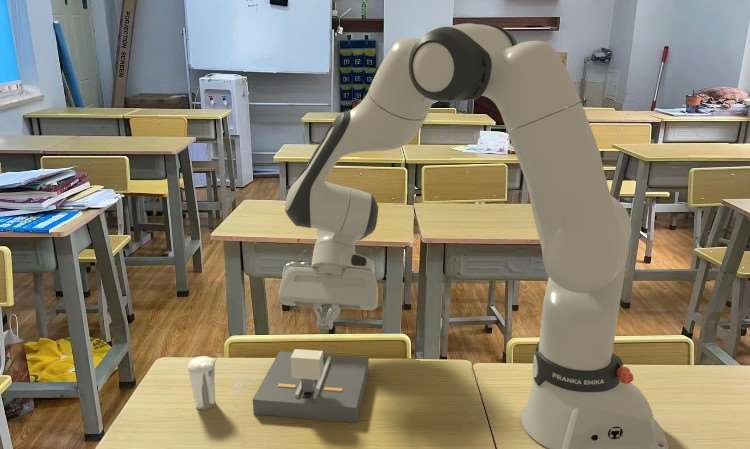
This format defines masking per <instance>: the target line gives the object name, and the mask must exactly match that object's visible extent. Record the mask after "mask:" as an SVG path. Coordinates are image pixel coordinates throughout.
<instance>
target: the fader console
mask: <svg viewBox="0 0 750 449" xmlns="http://www.w3.org/2000/svg"><path fill="white" fill-rule="evenodd" d="M293 352H294V351H293ZM293 352H292V351H278V353H277V355H276V357H275V358H274V360H273V362H272V363H271V366H270V367H269V369H268V371H267V373H266V374H265V376H264V378H263V380H262V382H261V384H260V385H259V387H258V389H257V391H256V393H255V394H254V396H253V398H252V409H253V410H252V411H253V415H257V416H258V415H259V416H270V417H271V416H272V417H280V418H281V417H284V418H295V419H307V420H320V421H321V420H322V421H330V422H331V421H332V422H343V423H355V424H356V423H357V420H358V417H359V412H360V407H361V405H362V400H363V396H364V393H365V388H366V384H367V379H368V376H369V370H370V369H369V368H370V367H369V366H370V364H369V363H370V362H369V357H368V356H367V357H365V356H351V355H341V354H340V355H337V354H335V355H334V354H324V353H323V368H324V371H323V374H322V376H321V379H320V380H315V388H314V391H313V392H302V388H301V379H299V378H292V376H291V356H292V354H293Z"/></svg>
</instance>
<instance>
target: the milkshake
mask: <svg viewBox="0 0 750 449" xmlns="http://www.w3.org/2000/svg"><path fill="white" fill-rule="evenodd" d="M217 359H218V356H216V358H215V360H214V359H213V358H212V357H210V356H197V357H196V356H195V357H194V358H193V359H191V360H190V361H189V363H188V364H187V371H188V375H189V379H190V385H191V389H192V394H193V399H194V404H195V408H196V409H198V410H202V411H206V410H209V409H210V410H211V409H212V407H214V406H215V403H216V390H215V389H216V382H215V378H216V377H215V375H216V374H215V373H216V361H217Z"/></svg>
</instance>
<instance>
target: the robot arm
mask: <svg viewBox="0 0 750 449" xmlns="http://www.w3.org/2000/svg"><path fill="white" fill-rule="evenodd" d="M579 95H580V94H579V93H578V90H577V88H576V85H575V84H574V81H573V79H572V77H571V76H570V73H569V71H568V69H567V68H566V65H565V64H564V62H563V61H562V59H561V57H560V56H559V54H558V52H557V51H556V49H555V48H554V47H553V46H552V45H551V44H549V43H548V42H545V41H542V40H527V41H524V42H523V41H522V42H520V43H519V42H517V40H516V38H515V37H514V35H513V33H511V32H510V31H508V30H507V29H505V28H503V27H502V26H499V25H496V24H492V23H483V24H477V23H472V22H471V23H469V22H468V23H459V24H454V25H449V26H441V27H440V26H439V27H438V28H435V29H432V30H430V31H428V32H427V33H426V34H424V35H423V36H421V37H420V38H415V37H406V38H405V37H404V38H401V39H399V40H398V41H396V42H395V43H394V44H392V46H391V48H390V49H389V51H388V52H387V53H386V56H385V57H384V58H383V60H382V62H381V63H380V65H379V68H378V69H377V71H376V73H375V75H374V77H373V79H372V81H371V84H370V86H369V89H368V90H367V93H366V95H365V97H364V98H363V99H362V100H361V101H360V103H358V104H357V105H356V106H355V107H353V108H352V109H351V110H347V111H341V113H339V115H337V117H336V118H335V119H334V121H333V122H332V123H331V124H330V126H329V127H328V129H327V131H326V132H325V133H324V136H323V137H322V139H321V141H320V142H319V144H317V147H316V148H315V150H314V151H313V153H312V156H311V157H310V158H309V160H308V162H307V163H306V165H305V167H304V168H303V170H302V171H301V173H300V174H299V176H297V177H296V179H295V181H294V182H293V184H292V185H291V187H290V188H289V189H288V191H287V193H286V194H287V195H286V196H285V204H284V206H285V207H284V211H285V212H284V213H286V216H287V217H288V218H289V220H290V222H292V223H293V224H294V225H295V226H296V227H299V228H300V227H301V228H308V229H316V233H317V234H316V235H317V237H316V238H317V239H316V242H315V243H314V247H313V253H312V259H311V262H309V261H302V262H300V261H291V262H290V263H287V264H286V265H285V266H284V267H283V268H282V274H281V283H280V284H279V285H280V286H279V289H278V295H277V297H278V300H279V301H280V303H282V305H284V306H291V307H292V306H293V307H294V306H295V307H308V308H312V309H313V311H314V314H315V316H316V328H317V329H321V330H322V329H325V330H326V329H327V330H332V329H333V324H334V321H335V320H336V318H338V316H339V315H340V313H341V310H357V311H358V310H359V311H374V310H376V309H377V308H378V305H379V291H378V290H379V288H378V283H377V278H376V275H375V273H376V272H375V271H376V270H375V269H376V268H375V264H374V261H373V260H372V258H371V257H367V256H364V255H361V254H359V253H357V252H356V246H355V245H356V242H357V241H359V242H360V241H362V240H363V239H365V238H367V237H368V236H370V235H371V234H373V233H374V231H375V230H376V227H377V222H378V216H379V205H378V202H377V201H376V198H375V197H374V195H373V194H372V193H370V192H367V191H365V190H360V189H357V188H354V187H349V186H343V185H341V184H336V183H333V182H330V181H326V180H327V178H328V177H329V175H330V174H331V172H332V171H333V169H334V167H335V166H336V164H337V163H338V161H339V160H340V159H342V158H343V157H344V156H347V155H350V154H354V153H363V152H386V151H392V150H396V149H400V148H402V147H404V146H406V145H408V144H409V143H411V142H412V141H413V139H415V137H416V136H417V135H418V133H419V131H420V130H421V128H422V126H423V124H424V123H425V120H426V118H427V116H428V114H429V112H430V110H431V107H432V105H433V103H434V101H435V102H440V103H456V102H462V101H463V102H464V101H474V100H475V101H476V100H479V99H480V98H481V97H482V96H483V97H485V98H488V99H489V100H491V101H492V102H493V103H494V104H495V106H496V108H497V109H498V111H499V113H500V115H501V118H502V121H503V123H504V126H505V129H506V131H507V134H508V138H509V140H510V143H511V144H512V147H513V151H514V153H515V155H516V157H517V158H516V159H517V160H518V164H519V167H520V169H521V172H522V175H523V177H524V179H525V183H526V188H527V192H528V196H529V201H530V206H531V210H532V216H533V220H534V223H535V228H536V231H537V236H538V239H539V242H540V247H541V252H542V253H541V254H542V261H543V266H544V269H545V271H546V273H547V276H548V278H547V284H546V288H545V293H544V297H543V303H542V312H541V313H542V314H541V320H540V321H541V322H540V330H539V331H540V332H539V339H538V342H537V343H536V345H535V351H534V355H533V363H532V376H533V377H532V378H533V380H532V384H531V385H532V386H531V389H530V392H529V396H528V399H527V401H526V404H525V406H524V408H523V409H522V412H521V415H520V420H521V425H522V427H523V429H524V430H525V432H526V433H527V434H528V435H529V436H530V438H532V439H533V440H534V441H535V442H537V443H538V444H540V445H542V446H544V447H545V448H547V449H669V444H668V440H667V437H666V435H665V433H664V431H663V429H662V427H661V426H660V424H659V422H658V421H657V420H656V419H655V418H654V413H653V410H652V407H651V405H650V403H649V401H648V399H647V398H646V396H645V395H644V394H643V392H642V391H641V390H640V388H639V387H637V386H636V385H635V384H634V383H632V382H633V381H634V379H635V378H634V375H633V373H632V371H631V370H630V368H628V367H627V366H624V362H623V360H622V358H621V357H620V356H618V355H617V353H616V352H615V350H614V343H615V339H616V331H617V325H618V317H619V310H620V305H621V298H622V293H623V286H624V279H625V274H626V267H627V261H628V253H629V247H630V242H631V235H632V220H631V217H630V215H629V214H630V213H628V210H627V209H626V208H625V206H624V205H623V204H622V203H621V202H620V201H619V200H618V199H616V198H615V197H613V196H612V195H611V192H610V189H609V184H608V181H607V177H606V173H605V169H604V165H603V161H602V157H601V151H600V150H599V146H598V143H597V141H596V139H595V136H594V132H593V130H592V127H591V124H590V122H589V119H588V117H587V116H588V115H587V114H586V111H585V109H584V105H583V103H582V100H581V98H580V96H579ZM323 308H324V309H331V312H332V313H331V314H330V316H329V317H321V314H320V313H323Z"/></svg>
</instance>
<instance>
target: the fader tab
mask: <svg viewBox="0 0 750 449" xmlns="http://www.w3.org/2000/svg"><path fill="white" fill-rule="evenodd" d="M323 354H324V351H323V350H313V349H312V350H311V349H301V348H300V349H299V348H295V349H294V350H293V354H292V356H291V376H292V378H299V379H301V388H302V392H313V391H314V388H315V380H320V379H321V376H322V374H323V371H324V368H323Z"/></svg>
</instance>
